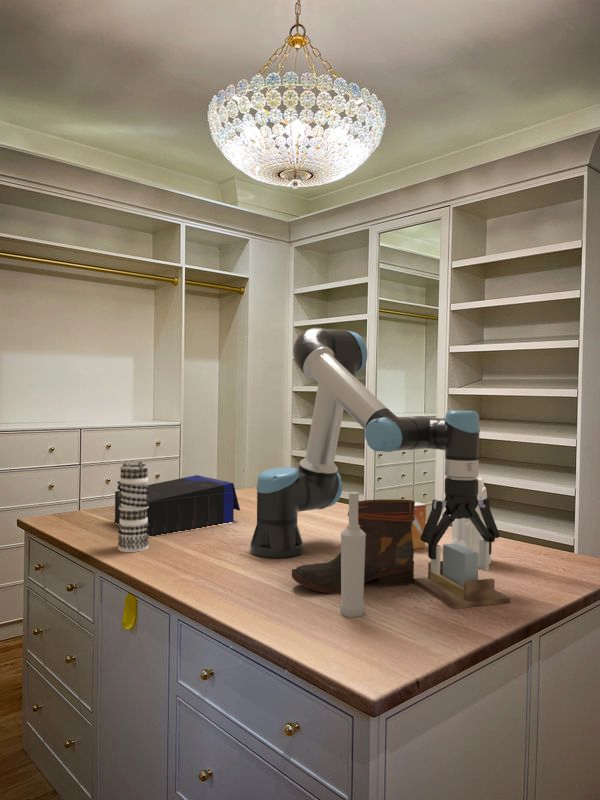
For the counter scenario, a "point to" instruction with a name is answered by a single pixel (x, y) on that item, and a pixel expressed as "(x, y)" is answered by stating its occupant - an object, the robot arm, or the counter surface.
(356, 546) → the bottle
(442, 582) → the track sill
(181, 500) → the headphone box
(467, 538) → the decorative vase
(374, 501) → the ankle boot
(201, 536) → the counter surface
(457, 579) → the light gray rectangular block
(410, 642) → the counter surface
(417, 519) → the small box
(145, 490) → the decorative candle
